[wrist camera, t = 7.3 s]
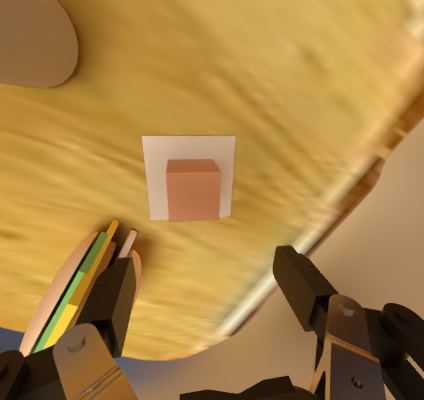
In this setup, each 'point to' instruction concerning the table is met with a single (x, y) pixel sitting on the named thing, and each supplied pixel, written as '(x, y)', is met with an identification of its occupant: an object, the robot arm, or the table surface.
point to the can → (36, 43)
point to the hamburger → (75, 288)
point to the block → (193, 190)
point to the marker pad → (180, 150)
